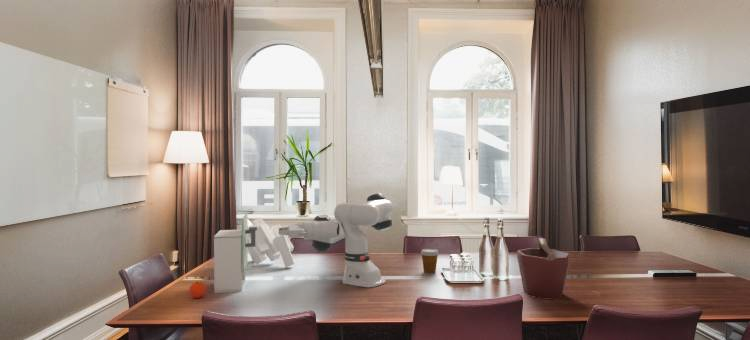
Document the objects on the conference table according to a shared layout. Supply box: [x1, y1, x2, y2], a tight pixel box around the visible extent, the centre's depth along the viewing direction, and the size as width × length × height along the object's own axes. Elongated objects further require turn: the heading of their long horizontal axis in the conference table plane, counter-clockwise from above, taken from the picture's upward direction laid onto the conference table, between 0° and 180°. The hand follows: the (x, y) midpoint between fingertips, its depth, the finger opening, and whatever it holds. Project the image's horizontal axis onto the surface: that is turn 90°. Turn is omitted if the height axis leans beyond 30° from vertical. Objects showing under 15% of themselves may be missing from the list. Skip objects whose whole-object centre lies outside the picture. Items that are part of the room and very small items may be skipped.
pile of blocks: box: [239, 217, 295, 268], centre depth 253 cm, size 35×30×35 cm
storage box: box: [213, 229, 246, 294], centre depth 208 cm, size 12×18×26 cm, turn 11°
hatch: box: [241, 213, 257, 272], centre depth 210 cm, size 6×19×25 cm, turn 11°
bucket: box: [516, 237, 571, 299], centre depth 198 cm, size 24×22×25 cm
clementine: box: [188, 281, 208, 299], centre depth 192 cm, size 8×7×7 cm
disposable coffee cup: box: [420, 248, 439, 274], centre depth 236 cm, size 10×10×12 cm
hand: (278, 231), depth 213 cm, fingers open, 8 cm apart
